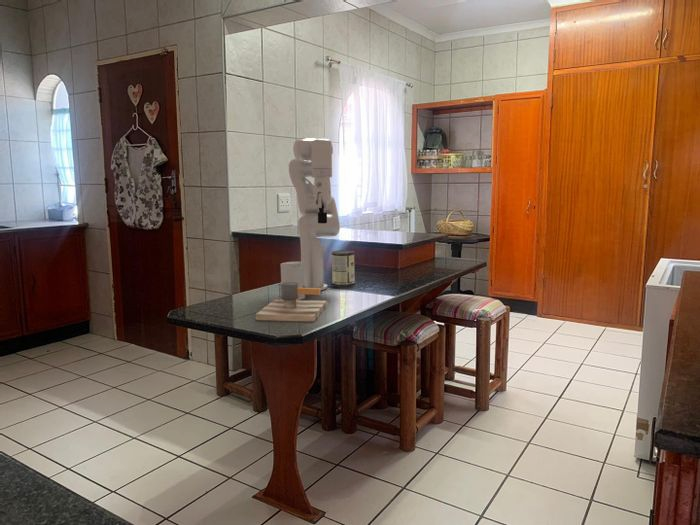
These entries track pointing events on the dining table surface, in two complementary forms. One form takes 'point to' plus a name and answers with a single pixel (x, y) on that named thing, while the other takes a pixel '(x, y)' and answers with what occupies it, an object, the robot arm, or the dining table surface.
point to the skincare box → (293, 275)
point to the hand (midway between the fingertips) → (322, 223)
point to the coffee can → (343, 267)
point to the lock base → (292, 310)
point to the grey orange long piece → (296, 291)
